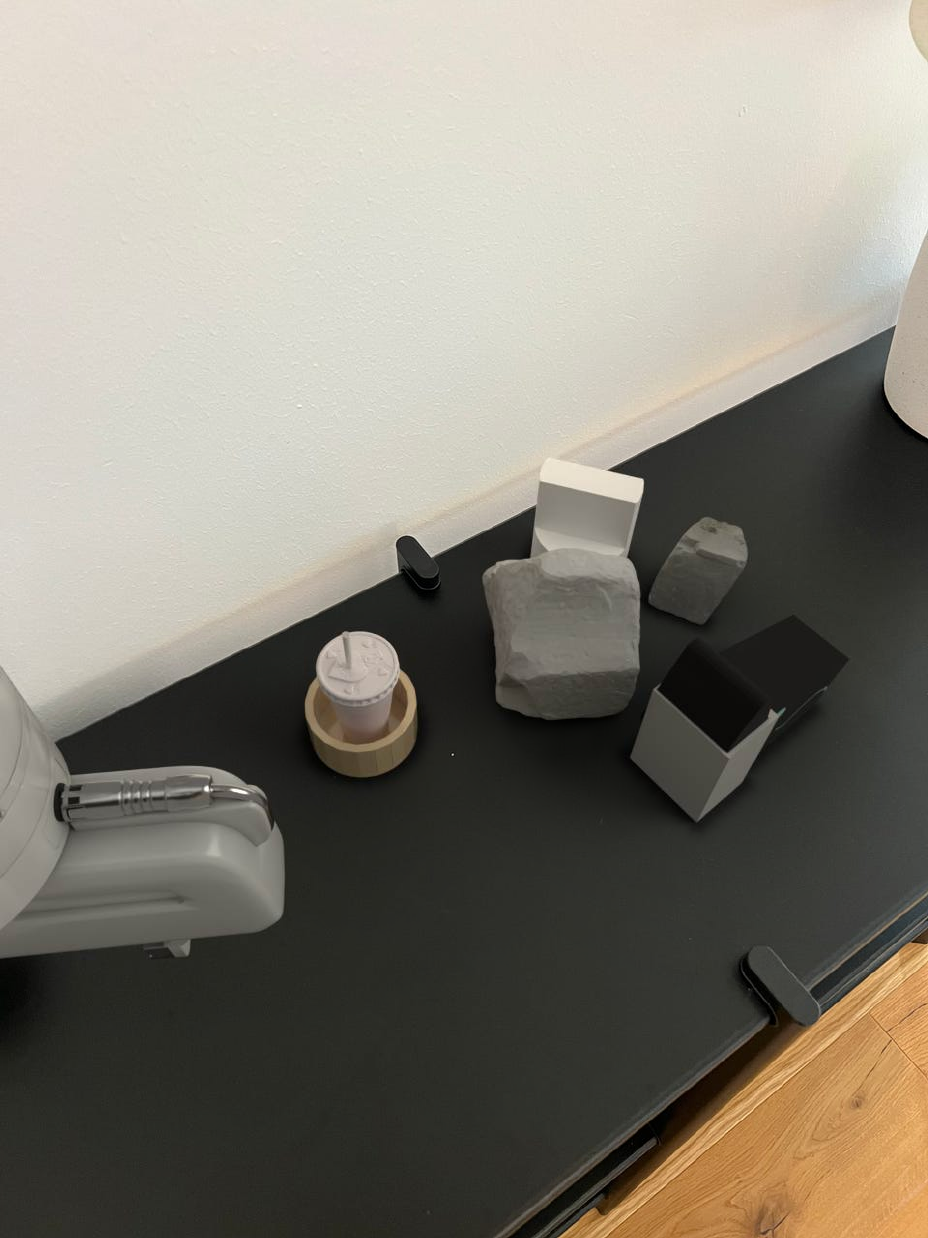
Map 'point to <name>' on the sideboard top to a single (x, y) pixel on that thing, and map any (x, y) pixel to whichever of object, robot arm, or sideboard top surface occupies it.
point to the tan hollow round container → (363, 756)
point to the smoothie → (359, 683)
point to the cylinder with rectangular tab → (585, 509)
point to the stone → (565, 633)
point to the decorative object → (729, 709)
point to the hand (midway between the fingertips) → (56, 951)
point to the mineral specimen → (700, 570)
